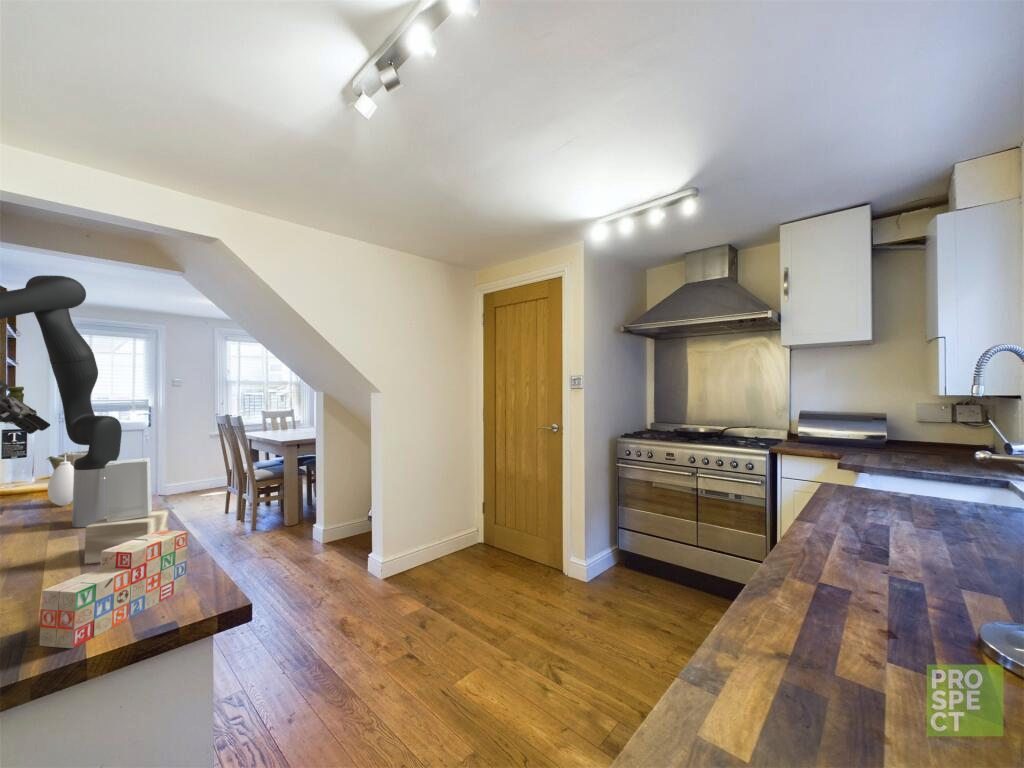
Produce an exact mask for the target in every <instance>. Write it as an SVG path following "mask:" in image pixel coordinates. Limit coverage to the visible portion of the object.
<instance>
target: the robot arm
mask: <svg viewBox="0 0 1024 768" xmlns="http://www.w3.org/2000/svg"><path fill="white" fill-rule="evenodd" d="M86 299H87V292H86V289H85V286H84V285H83V284H82V283H81V282H79V281H78V280H76V279H75V278H71V277H69V276H64V275H48V274H47V275H45V274H44V275H37V276H36V275H35V276H33V277H31V278H29V279H28V281H26V284H25V287H23V288H18V289H13V290H6V291H5V290H4V291H0V320H3V319H7V318H12V317H17V316H20V315H21V316H22V315H25V314H30V313H33V314H34V317H35V318H36V320H37V322H38V326H39V328H40V331H41V334H42V337H43V341H44V345H45V347H46V351H47V353H48V359H49V362H50V366H51V369H52V372H53V373H52V374H53V375H54V379H55V380H56V385H57V388H58V392H59V396H60V401H61V403H62V410H63V415H64V423H65V429H66V435H67V436H68V438H69V439H70V441H71V442H73V443H74V444H75V445H76V444H77V445H78V446H79V445H80V446H88V451H87V453H86V454H85V455H84V456H82V457H79V458H78V457H77V459H75V460H74V463H73V467H74V483H73V501H72V510H71V511H72V514H71V526H72V527H73V528H86V526H88V525H90V524H92V523H94V522H96V521H98V520H100V519H102V518H104V517H106V516H107V513H106V484H105V465H106V464H107V463H108V462H110V461H117V460H118V458H119V456H120V452H121V444H122V432H123V431H122V425H121V422H120V420H119V419H118V418H116V417H115V416H113V415H112V416H111V415H95V412H94V409H93V406H92V401H91V398H92V397H91V396H92V393H93V390H94V388H95V385H96V383H97V380H98V375H99V369H98V364H97V361H96V358H95V357H96V356H95V353H94V352H93V350H92V348H91V346H90V345H89V344H88V343H87V341H86V339H84V337H83V336H82V334H80V333H79V331H78V330H77V328H76V326H75V325H74V323H73V320H72V317H71V314H70V309H73V308H76V307H77V308H78V307H79V306H80V305H82V304H83V303H84V301H85V300H86ZM8 389H9V384H7V383H5V382H4V381H3V380H1V379H0V421H1V422H2V423H6V424H7V423H8V424H10V425H14V426H15V427H17V428H19V429H21V430H22V431H23V432H24V433H27V434H29V435H32V434H34V433H35V432H37V431H38V430H39V431H41V432H43V431H45V430H46V429H48V428H49V427H50V426H51V424H50V423H49V422H47V421H46V420H44V419H43V418H42V417H40V416H39V415H38V414H37V413H38V412H37V410H36V409H34V408H31V407H30V406H29V405H28V404H26V403H24V402H22V401H21V400H19V399H18V398H17V397H16V396H10V397H8V396H7V395H4V392H6V391H7V390H8Z"/></svg>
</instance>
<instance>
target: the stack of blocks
mask: <svg viewBox="0 0 1024 768" xmlns="http://www.w3.org/2000/svg"><path fill="white" fill-rule="evenodd" d="M188 536H189V535H188V530H187V531H185V530H169V529H168V530H161V531H158V532H155V533H152V534H147V535H144V536H141V537H138V538H135V539H134V540H131V541H128V542H125V543H123V544H120V545H118V546H114V547H112V548H109V549H106V550H103V551H101V562H100V564H99V565H100V567H98V568H96V569H93V570H91V571H88V572H86V573H84V574H80V575H77V576H75V577H72V578H70V579H68V580H65V581H63V582H61V583H57V584H55V585H53V586H50V587H46V588H45V589H43V590H42V592H41V593H42V594H41V609H40V612H39V613H40V616H39V620H40V621H39V647H51V648H60V649H61V648H62V649H63V648H65V649H74V648H75V647H78V646H80V645H82V644H83V643H85V642H87V641H88V640H91V639H92V638H95V637H97V636H99V635H101V634H102V633H104V632H107V631H108V630H110V629H111V628H114V627H116V626H117V625H119V624H121V623H124V622H125V621H127V620H128V619H130V618H132V617H134V616H136V615H138V614H140V613H142V612H143V611H146V610H147V609H149V608H151V607H153V606H154V605H156V604H158V603H161V602H162V601H164V600H166V599H168V598H169V597H172V596H173V595H175V594H177V593H178V592H180V591H183V590H184V589H186V588H187V562H188V549H189V547H188Z"/></svg>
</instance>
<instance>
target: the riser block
mask: <svg viewBox="0 0 1024 768" xmlns="http://www.w3.org/2000/svg"><path fill="white" fill-rule="evenodd" d="M169 510H170V509H168V508H165V509H163V508H162V509H152V511H151V513H150V515H149V516H148V517H143V518H135V519H128V520H121V521H114V522H108V523H107V516H106V517H104V518H102V519H100V520H98V521H96V522H94V523H92V524H90V525H88V526H86V527H85V535H84V536H85V537H84V538H85V539H84V563H83V564H85V565H87V563H88V564H94V563H95V564H96V563H101V551H103V550H106V549H109V548H112V547H114V546H118V545H120V544H123V543H125V542H128V541H131V540H134V539H135V538H138V537H141V536H144V535H147V534H152V533H155V532H158V531H161V530H169V514H170V513H169V512H170V511H169Z"/></svg>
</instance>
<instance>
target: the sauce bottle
mask: <svg viewBox="0 0 1024 768" xmlns="http://www.w3.org/2000/svg"><path fill="white" fill-rule="evenodd" d="M73 483H74V465H73V464H72V462H71V461H67V455H66V454H64V460H63V461H61V462H59V465H58V466H57V467H56V468H55V469H54V470H53V472H52V474H51V476H50V478H49V481H48V484H47V496H48V498H49V500H50V502H52V504H56V506H60V507H66V506H68V505H70V504H71V503H72V502H73Z"/></svg>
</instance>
